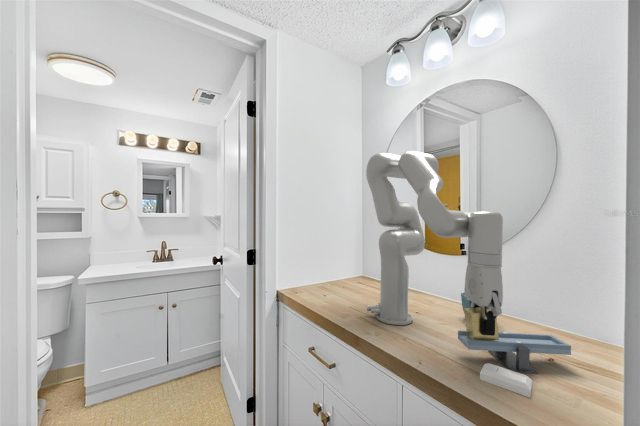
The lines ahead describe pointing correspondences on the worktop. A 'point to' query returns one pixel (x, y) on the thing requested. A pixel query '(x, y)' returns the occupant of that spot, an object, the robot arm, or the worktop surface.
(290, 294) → the worktop surface
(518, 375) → the soap bar
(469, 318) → the block
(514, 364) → the stand
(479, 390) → the worktop surface
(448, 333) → the worktop surface
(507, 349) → the beam
